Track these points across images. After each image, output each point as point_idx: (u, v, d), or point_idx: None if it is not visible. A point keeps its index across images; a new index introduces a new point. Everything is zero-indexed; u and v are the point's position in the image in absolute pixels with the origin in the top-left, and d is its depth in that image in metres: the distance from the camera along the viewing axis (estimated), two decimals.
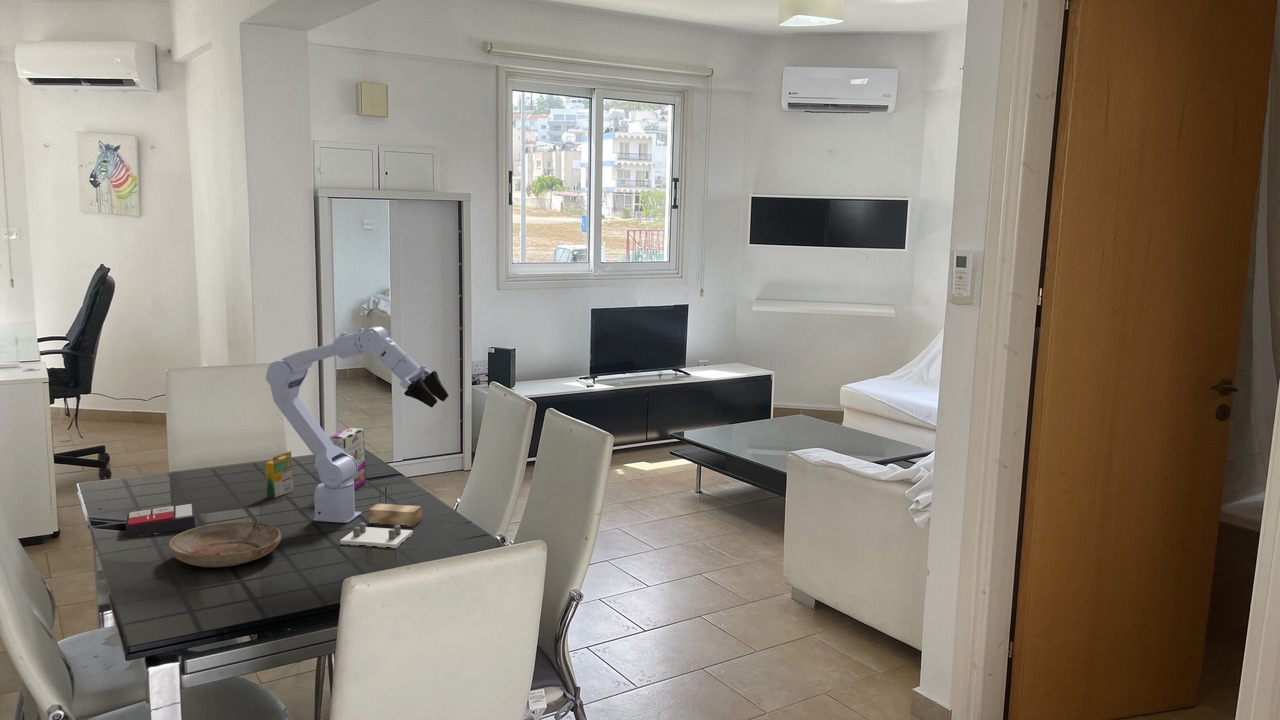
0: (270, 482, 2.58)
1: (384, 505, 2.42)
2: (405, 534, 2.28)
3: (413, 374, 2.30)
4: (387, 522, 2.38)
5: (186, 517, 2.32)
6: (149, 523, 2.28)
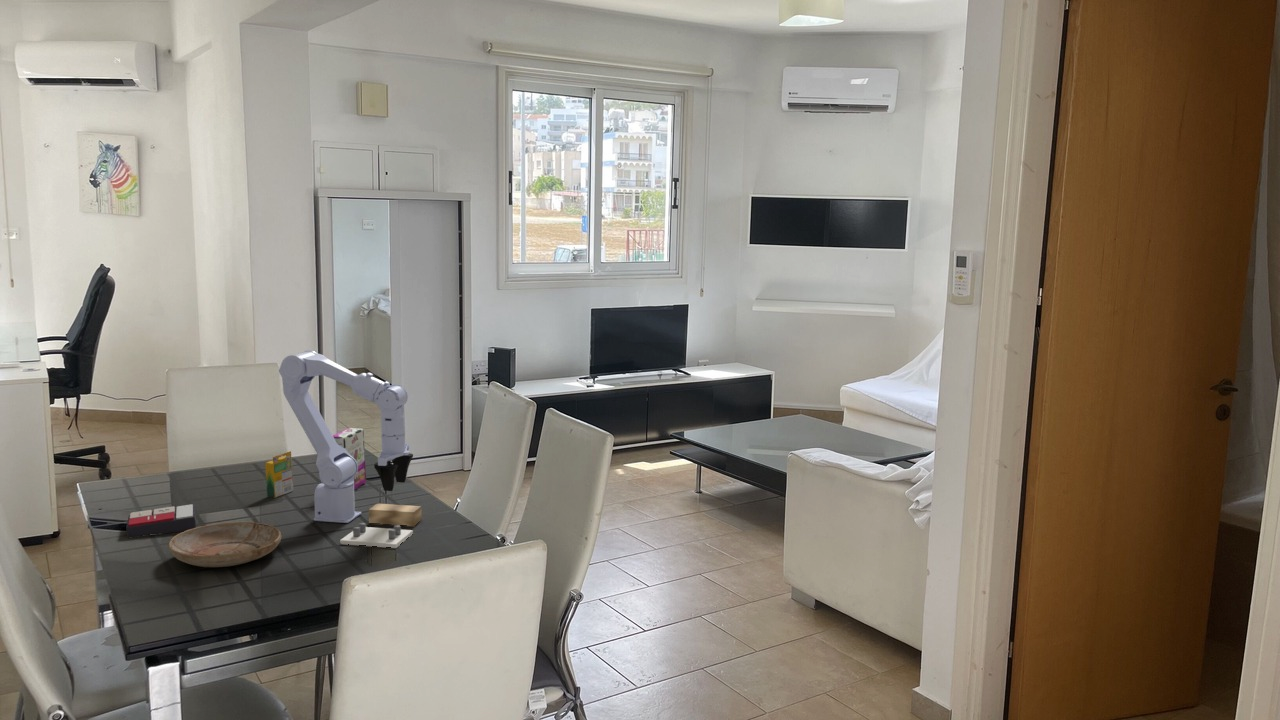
0: (270, 482, 2.58)
1: (384, 505, 2.42)
2: (405, 534, 2.28)
3: (394, 456, 2.34)
4: (387, 522, 2.38)
5: (187, 518, 2.31)
6: (149, 523, 2.28)
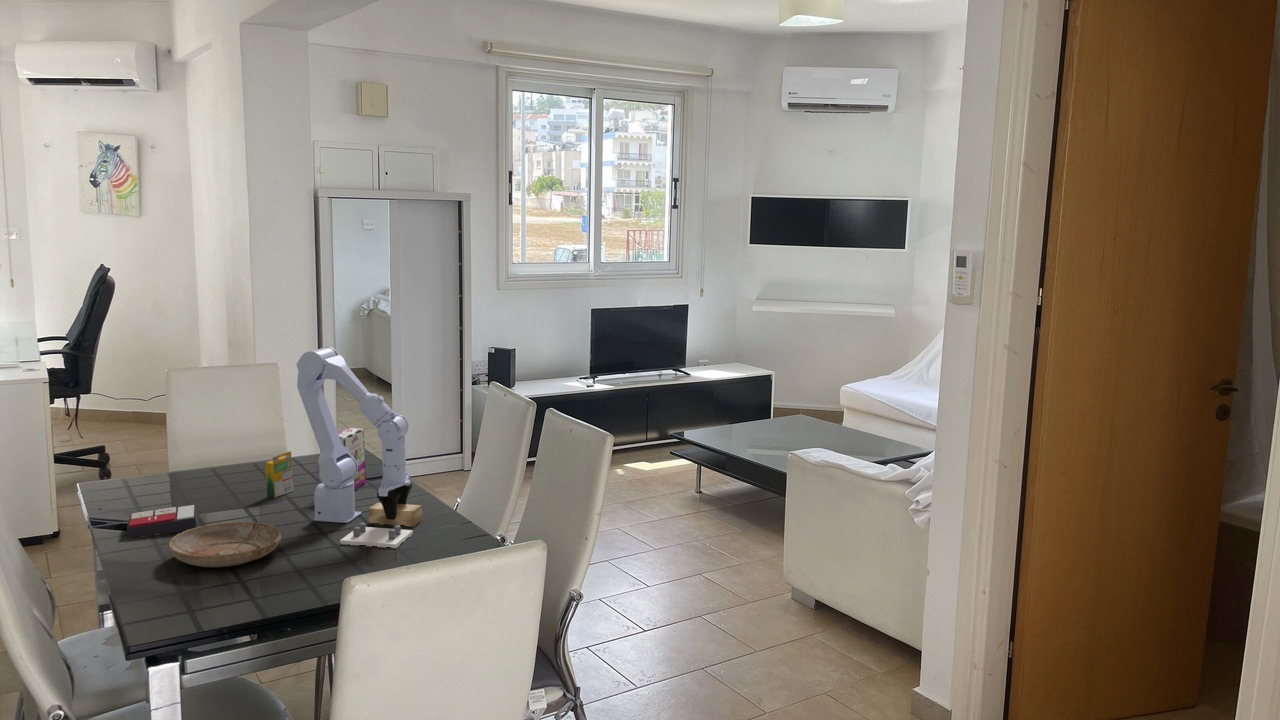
0: (270, 482, 2.58)
1: None
2: (405, 534, 2.28)
3: (395, 486, 2.35)
4: (387, 521, 2.38)
5: (187, 518, 2.31)
6: (150, 524, 2.27)
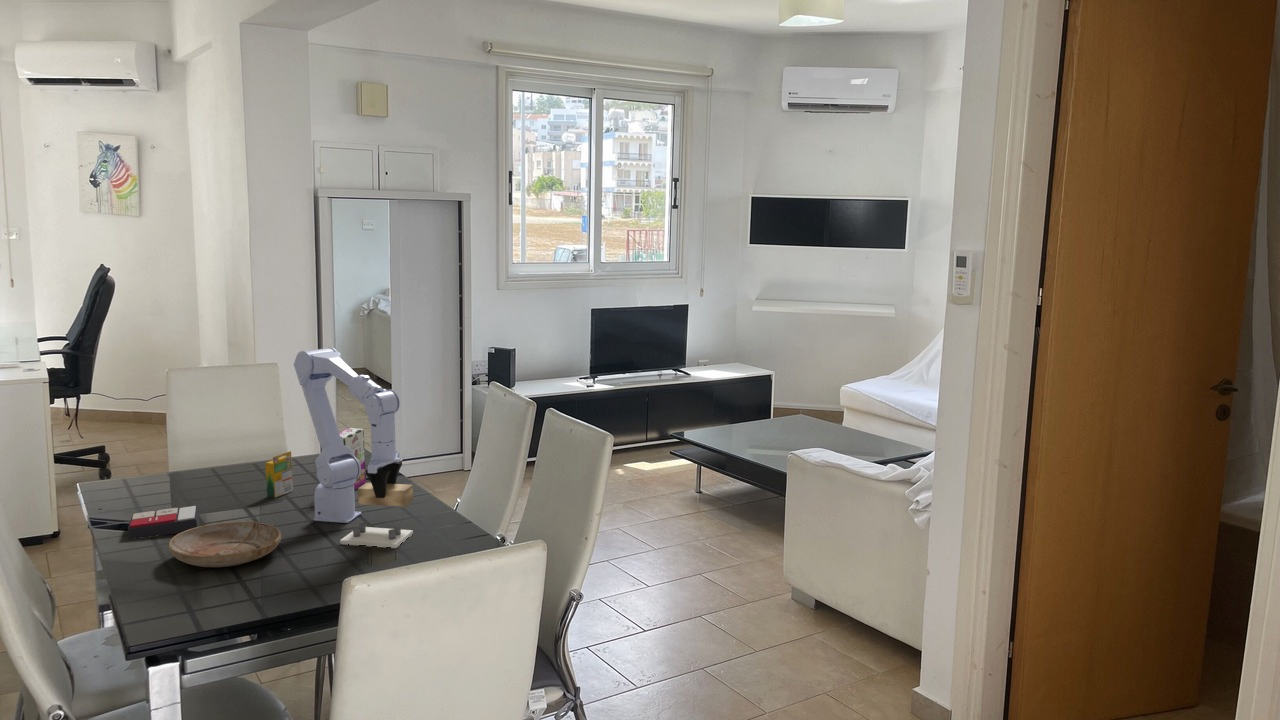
0: (270, 482, 2.58)
1: None
2: (405, 534, 2.28)
3: (384, 463, 2.27)
4: (377, 501, 2.30)
5: (188, 519, 2.30)
6: (151, 525, 2.27)
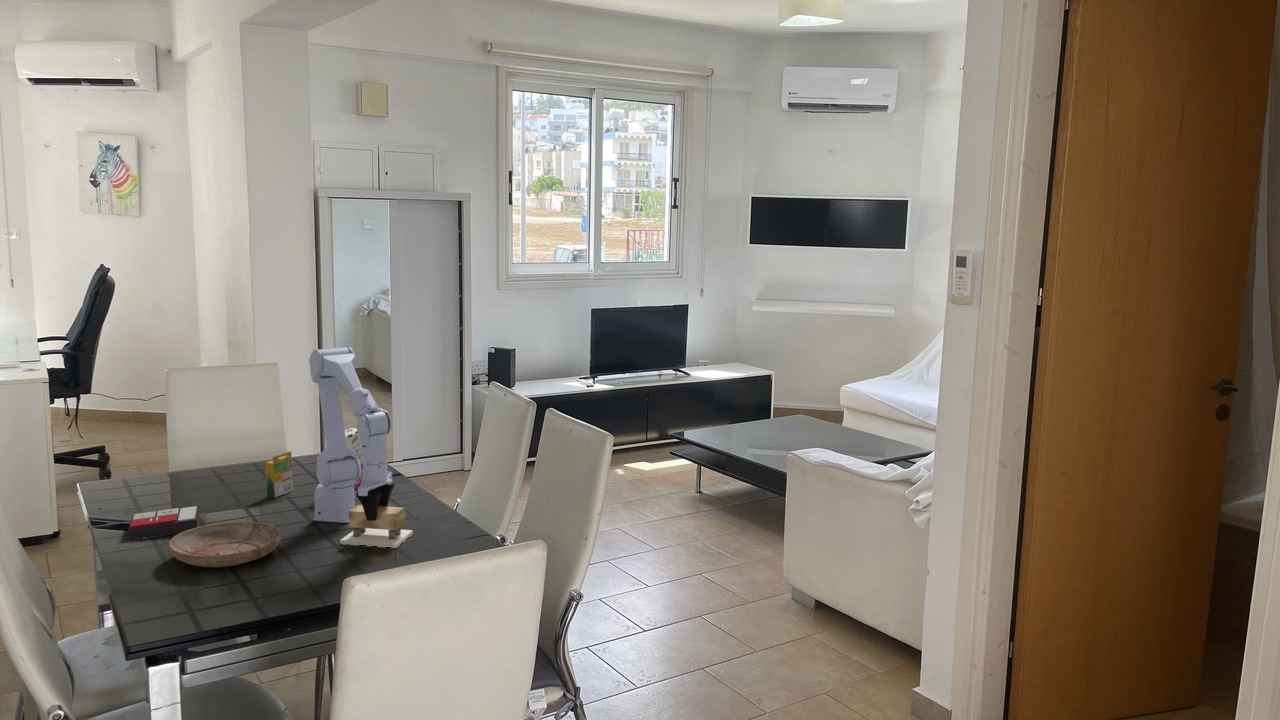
0: (270, 482, 2.58)
1: None
2: (405, 534, 2.28)
3: (376, 486, 2.21)
4: (368, 524, 2.25)
5: (188, 520, 2.30)
6: (151, 525, 2.27)
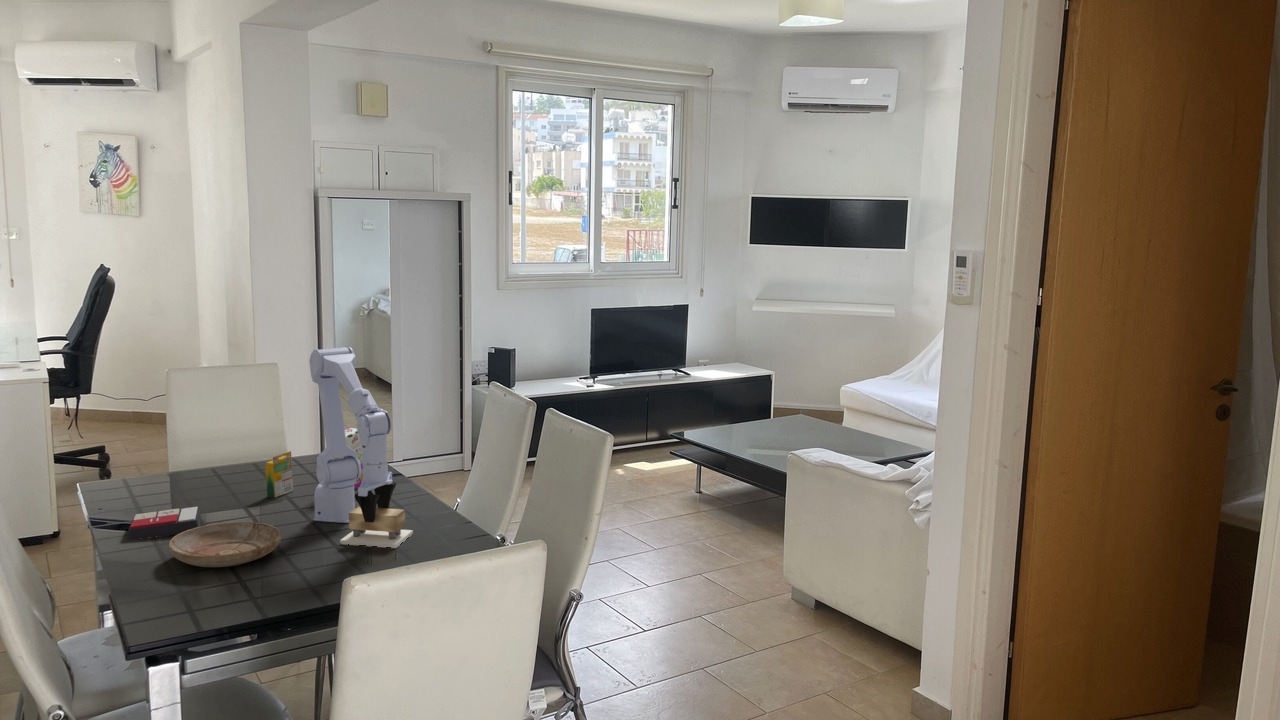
0: (270, 482, 2.58)
1: None
2: (405, 534, 2.28)
3: (376, 486, 2.21)
4: (368, 526, 2.25)
5: (189, 520, 2.29)
6: (151, 526, 2.26)
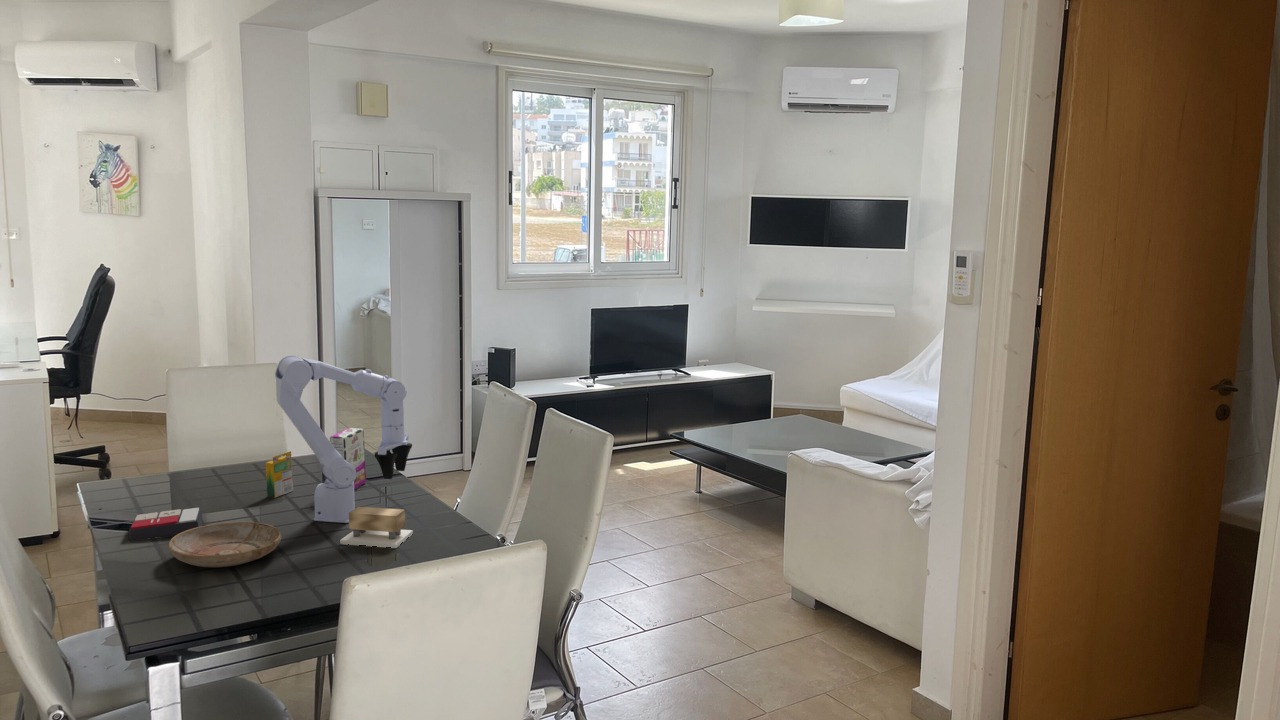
0: (270, 482, 2.58)
1: (365, 508, 2.28)
2: (405, 534, 2.28)
3: (393, 446, 2.44)
4: (368, 526, 2.25)
5: (189, 521, 2.28)
6: (152, 527, 2.26)
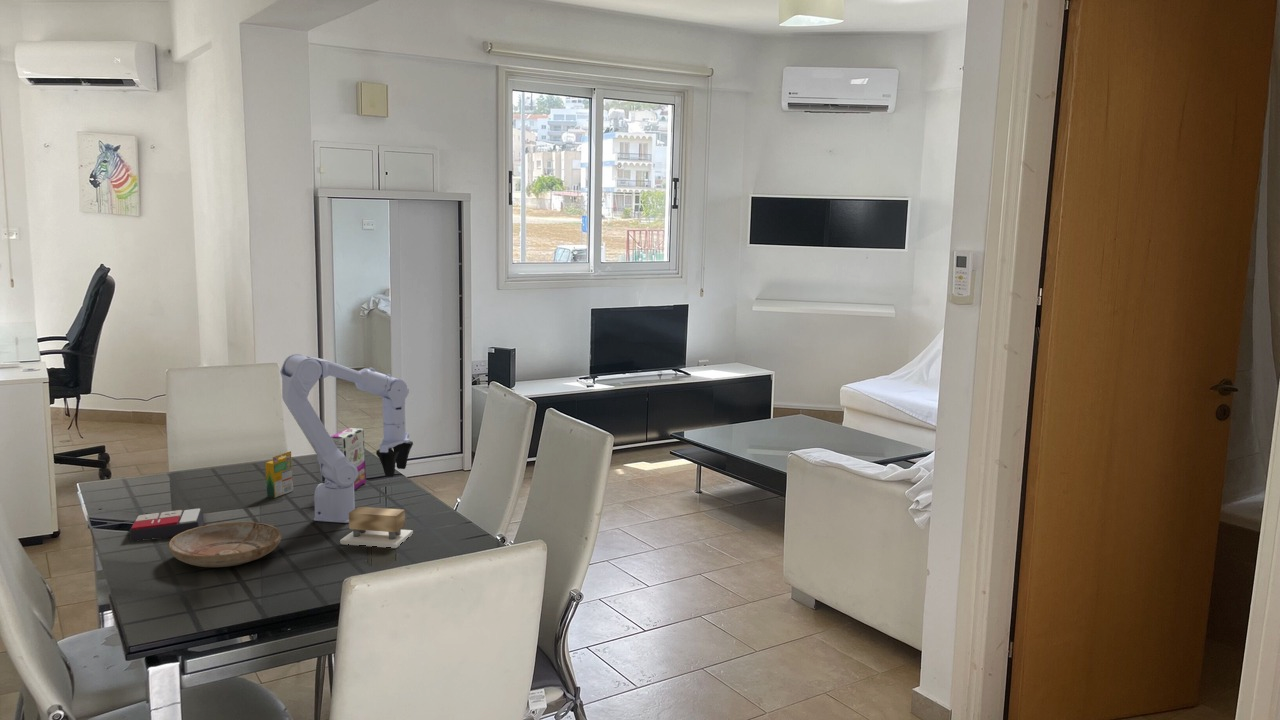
0: (270, 482, 2.58)
1: (365, 508, 2.28)
2: (405, 534, 2.28)
3: (395, 444, 2.46)
4: (368, 526, 2.25)
5: (190, 522, 2.28)
6: (152, 527, 2.25)
